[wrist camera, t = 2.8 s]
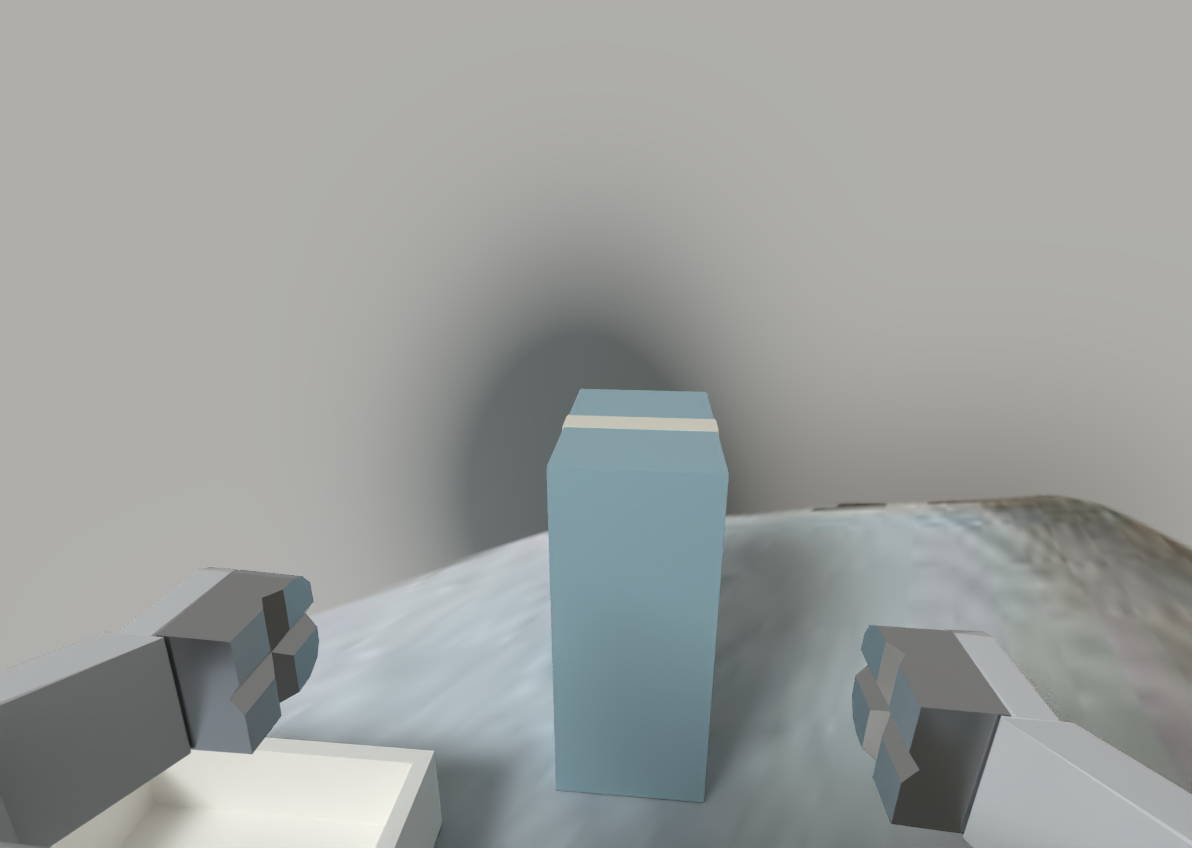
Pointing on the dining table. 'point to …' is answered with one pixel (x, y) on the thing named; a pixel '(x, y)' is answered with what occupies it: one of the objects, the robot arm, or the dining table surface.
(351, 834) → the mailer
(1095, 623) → the dining table surface
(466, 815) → the dining table surface
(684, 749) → the gift box
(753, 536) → the dining table surface
